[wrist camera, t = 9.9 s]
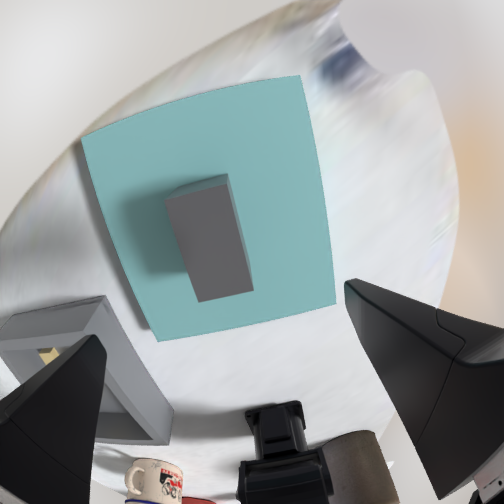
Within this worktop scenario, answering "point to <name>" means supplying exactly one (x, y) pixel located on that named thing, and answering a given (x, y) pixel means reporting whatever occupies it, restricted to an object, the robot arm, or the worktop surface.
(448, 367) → the robot arm
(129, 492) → the teacup with lid
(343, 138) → the worktop surface
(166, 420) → the tub
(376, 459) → the pillar candle
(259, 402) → the worktop surface
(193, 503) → the citrus juicer
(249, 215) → the lid
